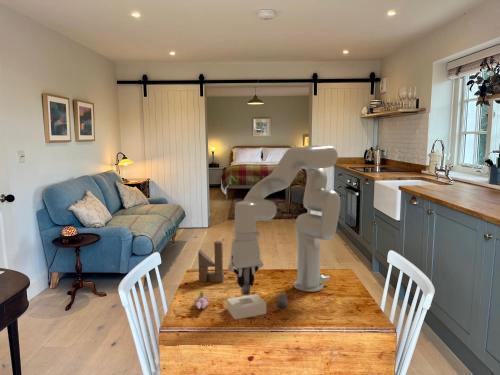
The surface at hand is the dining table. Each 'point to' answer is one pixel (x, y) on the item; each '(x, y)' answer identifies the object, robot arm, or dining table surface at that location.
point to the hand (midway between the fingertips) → (245, 284)
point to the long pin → (246, 281)
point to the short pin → (282, 301)
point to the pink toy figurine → (201, 301)
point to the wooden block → (211, 265)
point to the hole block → (246, 306)
